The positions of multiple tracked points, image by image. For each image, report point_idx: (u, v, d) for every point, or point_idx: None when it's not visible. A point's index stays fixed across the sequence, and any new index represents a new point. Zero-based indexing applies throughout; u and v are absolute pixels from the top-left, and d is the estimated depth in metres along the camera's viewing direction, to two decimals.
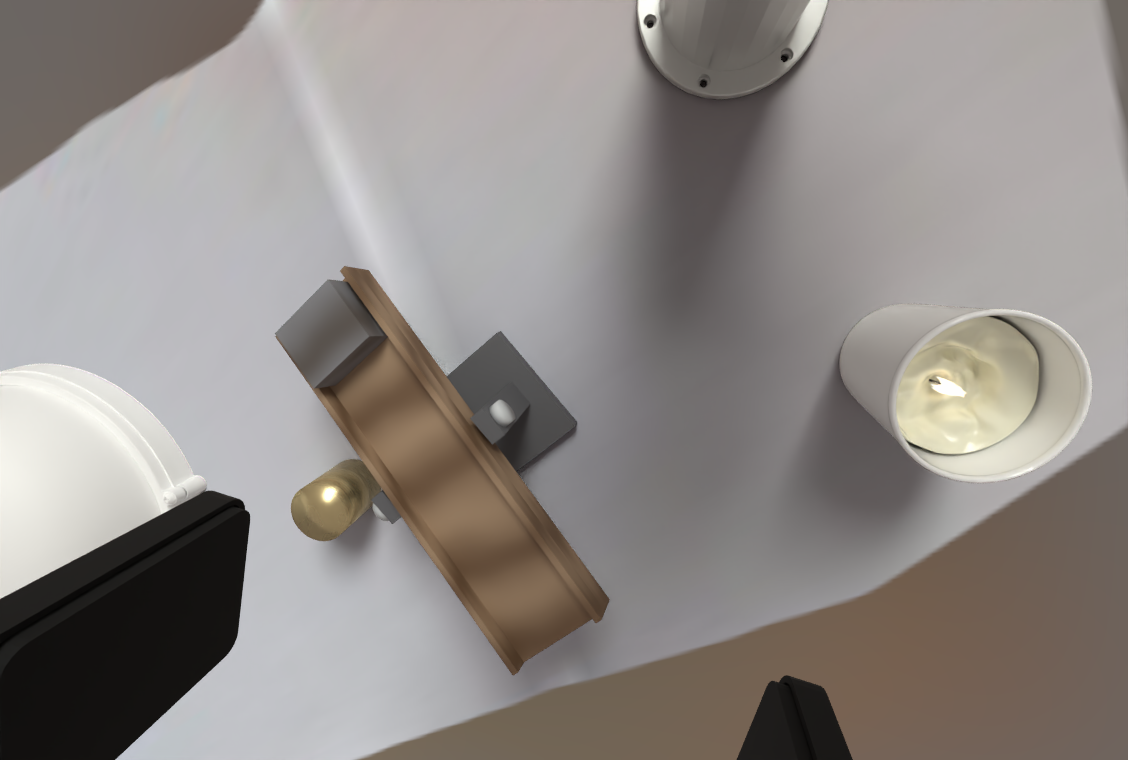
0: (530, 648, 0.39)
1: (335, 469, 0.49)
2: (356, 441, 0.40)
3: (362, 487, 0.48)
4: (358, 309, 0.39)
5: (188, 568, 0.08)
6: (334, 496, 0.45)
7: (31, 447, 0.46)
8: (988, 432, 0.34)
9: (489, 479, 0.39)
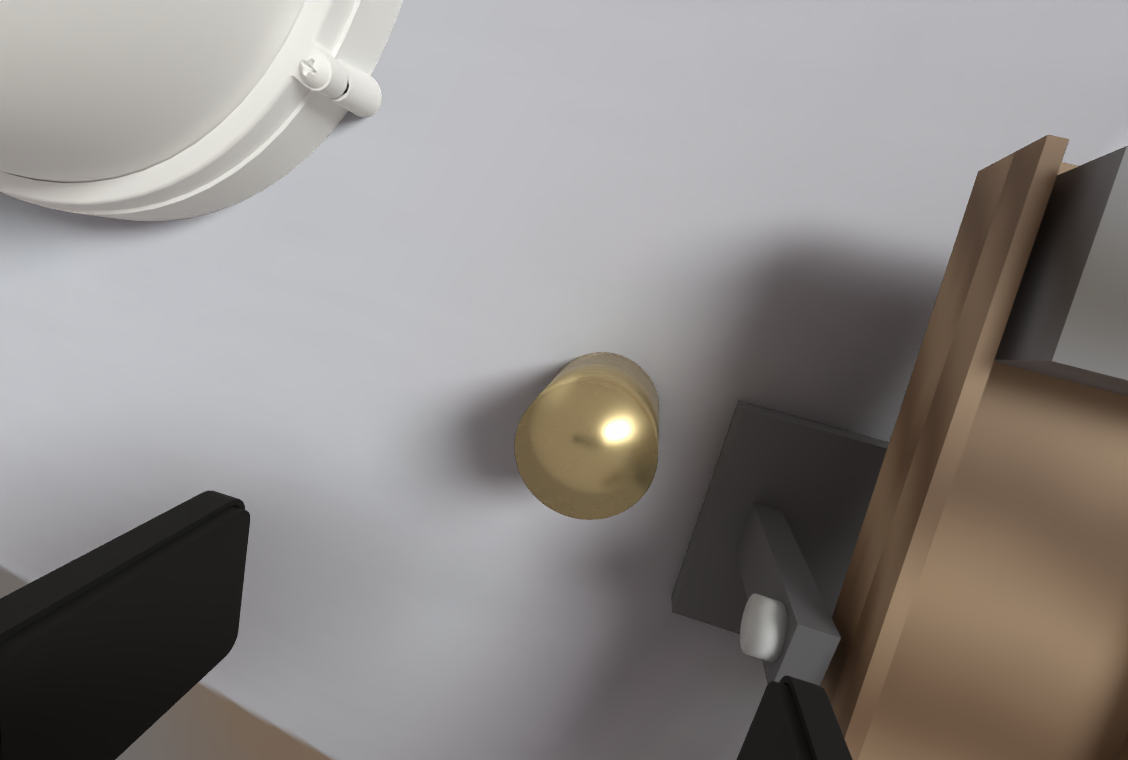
0: None
1: (642, 383, 0.22)
2: (936, 525, 0.14)
3: None
4: None
5: (188, 568, 0.08)
6: (649, 465, 0.19)
7: None
8: None
9: None
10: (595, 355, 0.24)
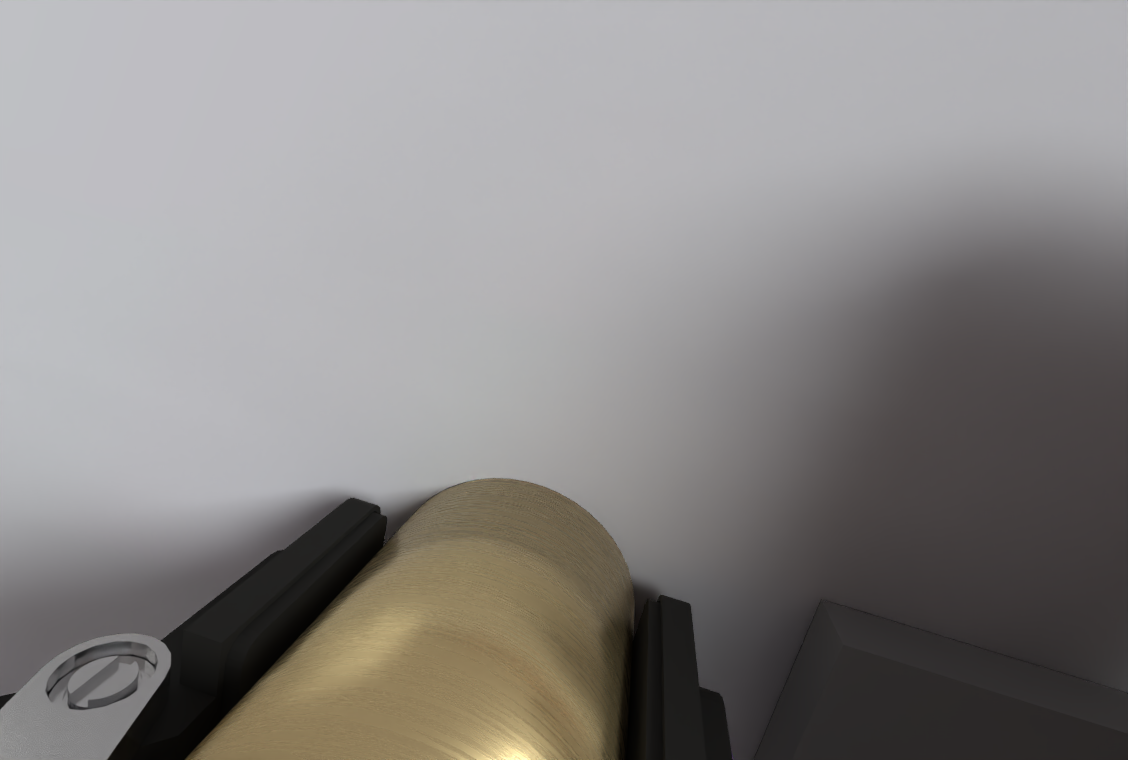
0: None
1: (582, 603, 0.08)
2: None
3: None
4: None
5: (348, 569, 0.09)
6: None
7: None
8: None
9: None
10: (479, 495, 0.10)
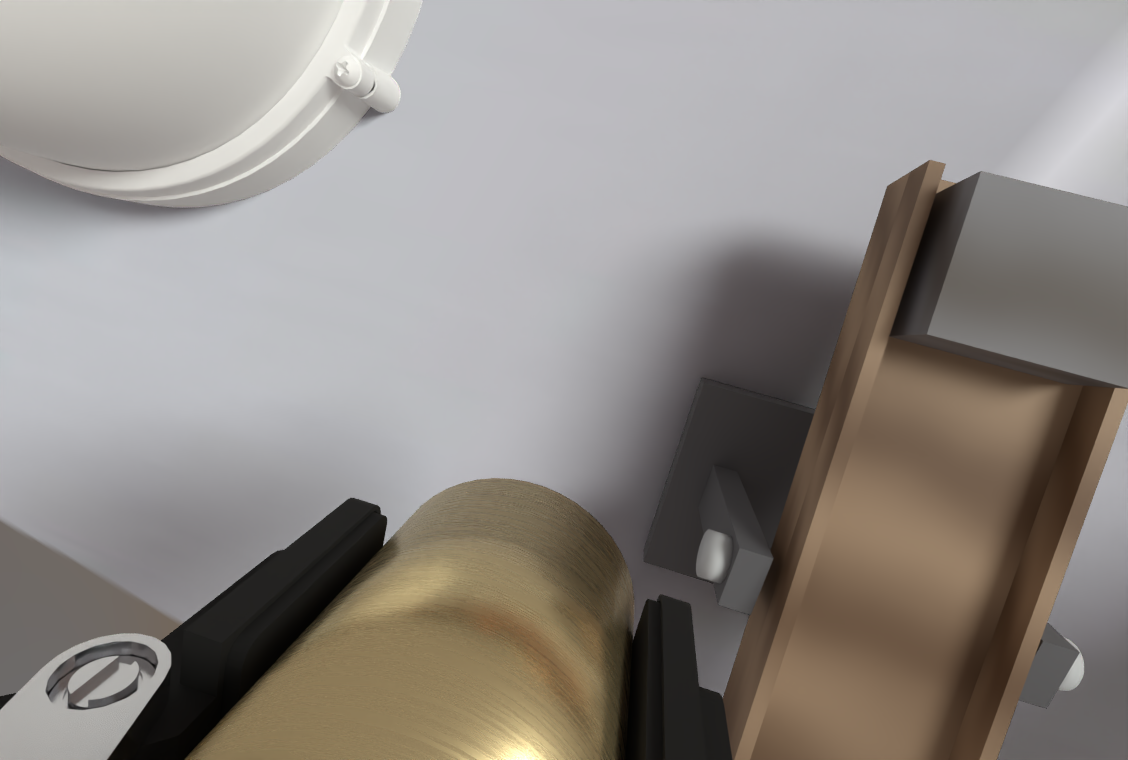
0: None
1: (582, 602, 0.08)
2: (846, 465, 0.18)
3: None
4: None
5: (348, 569, 0.09)
6: None
7: None
8: None
9: (937, 723, 0.20)
10: (478, 495, 0.10)
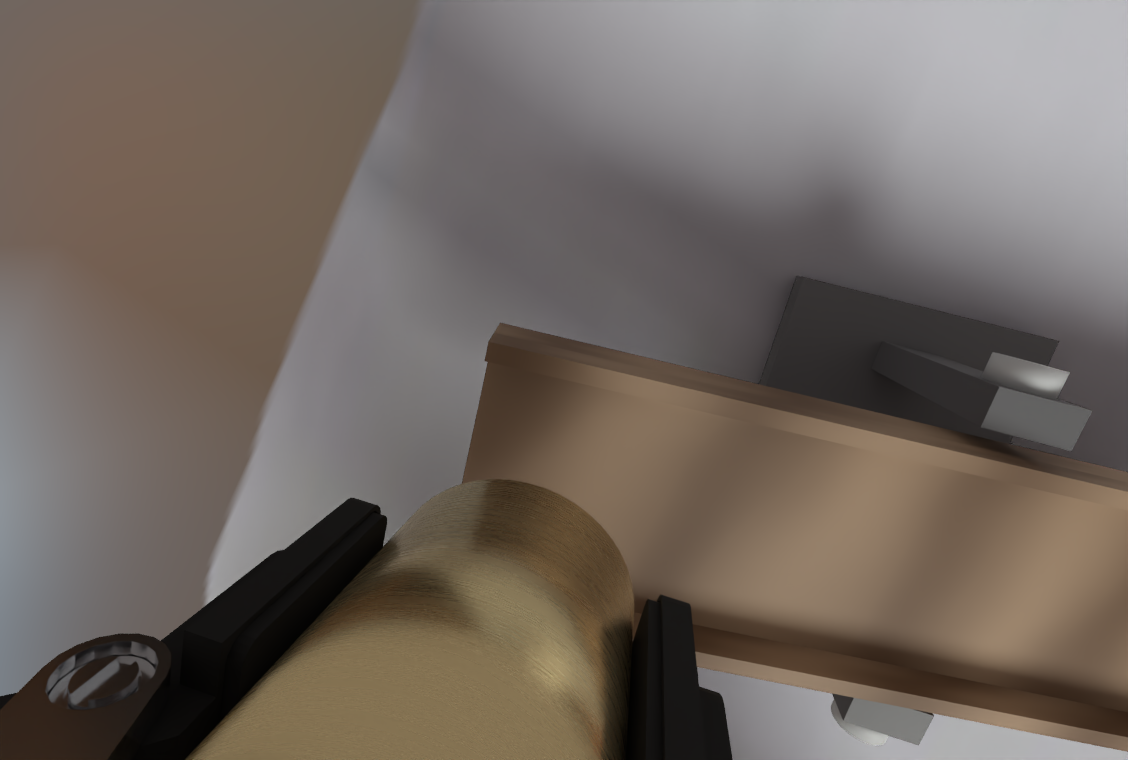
0: (502, 393, 0.15)
1: (582, 604, 0.08)
2: None
3: None
4: None
5: (348, 569, 0.09)
6: None
7: None
8: None
9: (822, 628, 0.17)
10: (478, 496, 0.10)
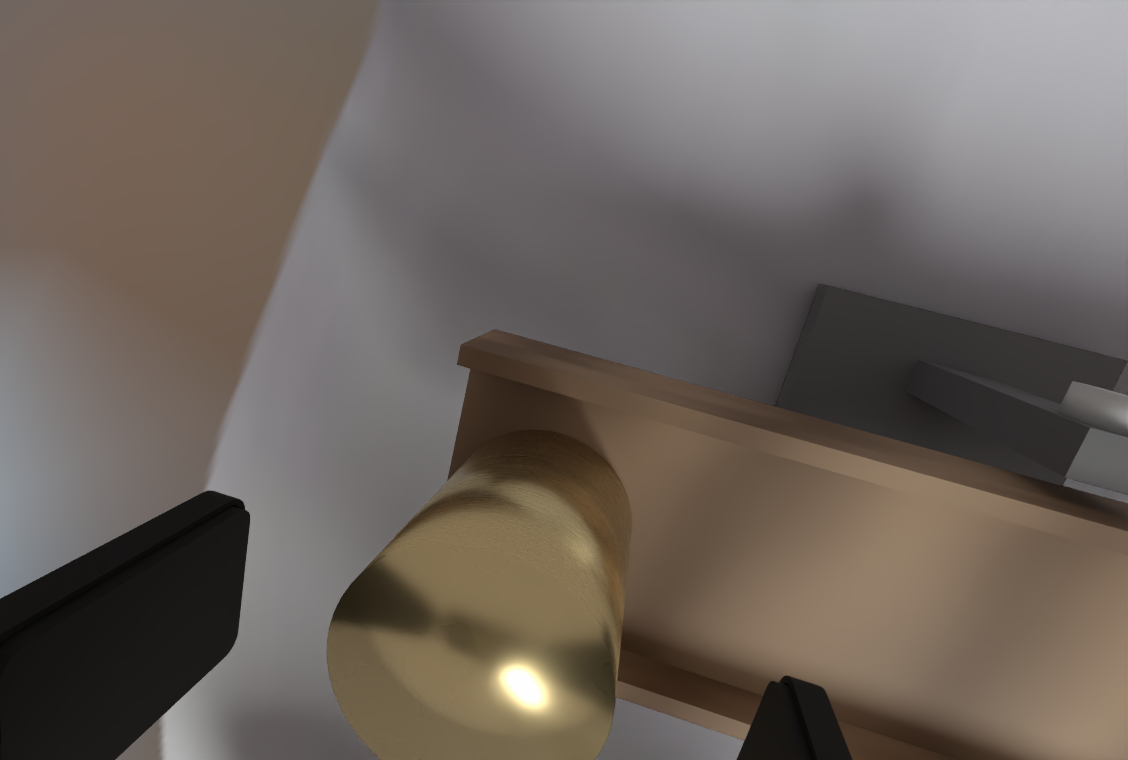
0: (485, 400, 0.14)
1: (596, 502, 0.12)
2: None
3: None
4: None
5: (188, 568, 0.08)
6: (598, 715, 0.09)
7: None
8: None
9: (846, 697, 0.15)
10: (521, 439, 0.14)
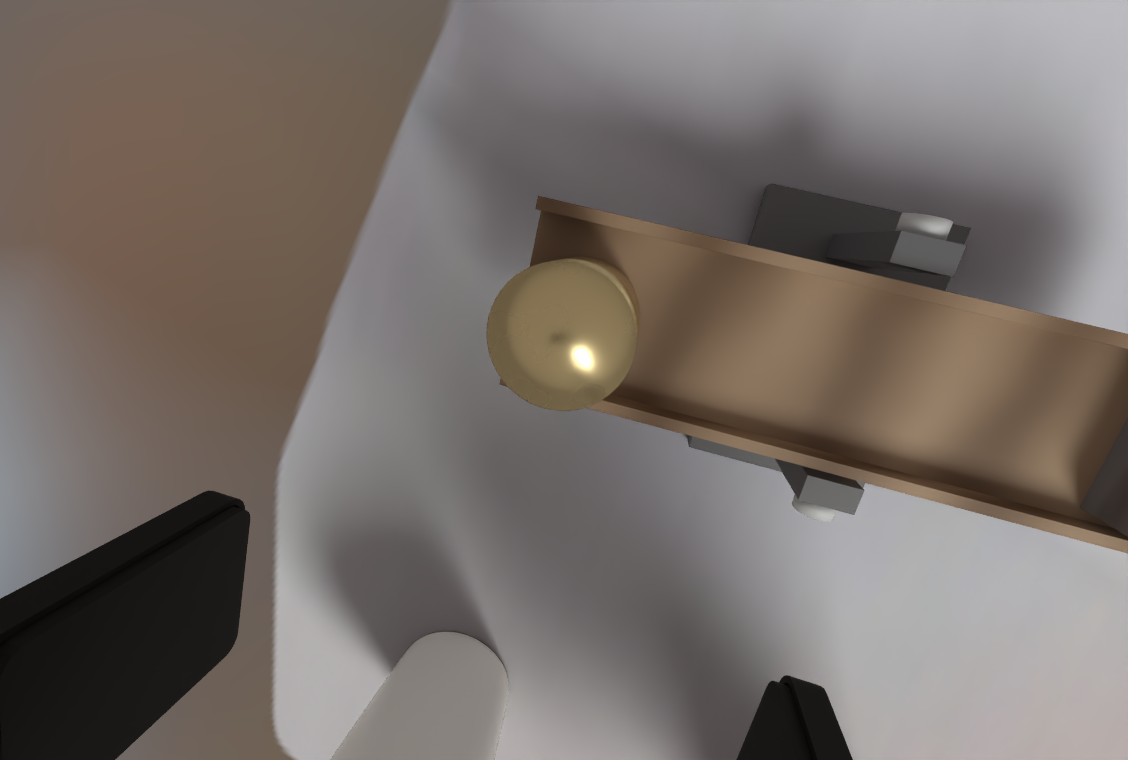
0: (548, 239, 0.23)
1: (620, 278, 0.21)
2: (1054, 331, 0.20)
3: None
4: None
5: (188, 568, 0.08)
6: (628, 348, 0.18)
7: None
8: None
9: (773, 420, 0.24)
10: None
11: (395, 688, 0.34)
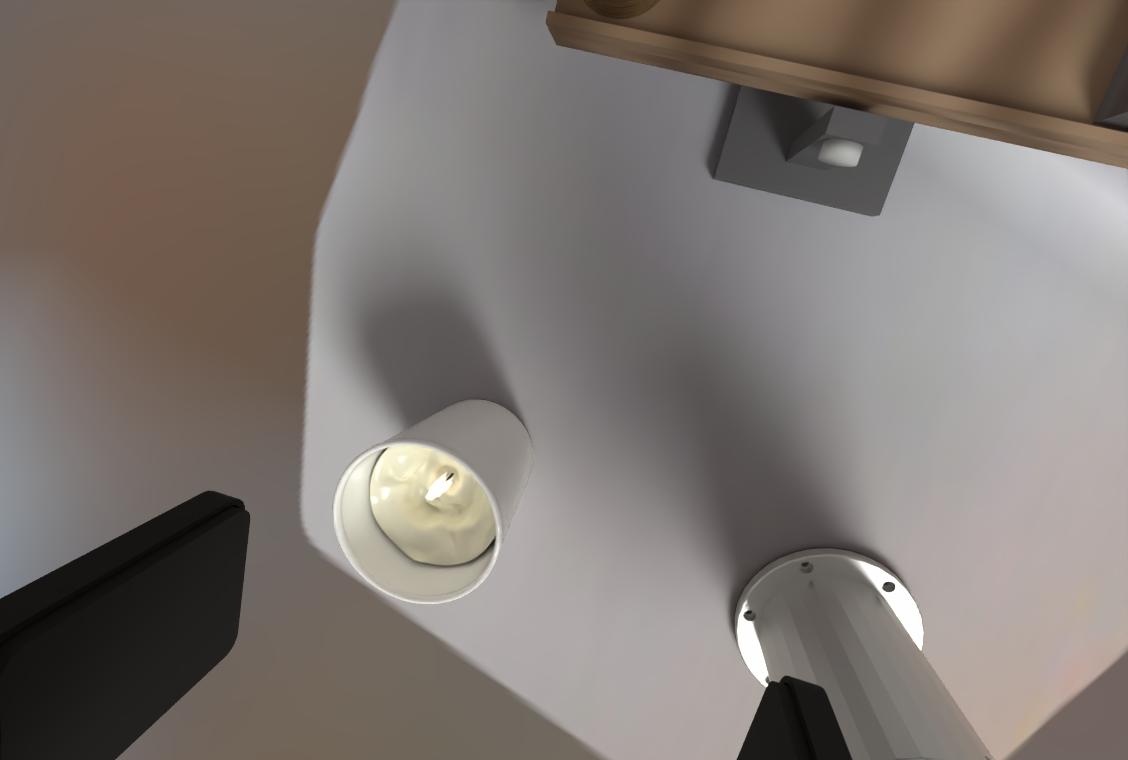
0: None
1: None
2: None
3: None
4: None
5: (188, 568, 0.08)
6: None
7: None
8: (383, 479, 0.34)
9: (803, 55, 0.25)
10: None
11: (427, 418, 0.36)
